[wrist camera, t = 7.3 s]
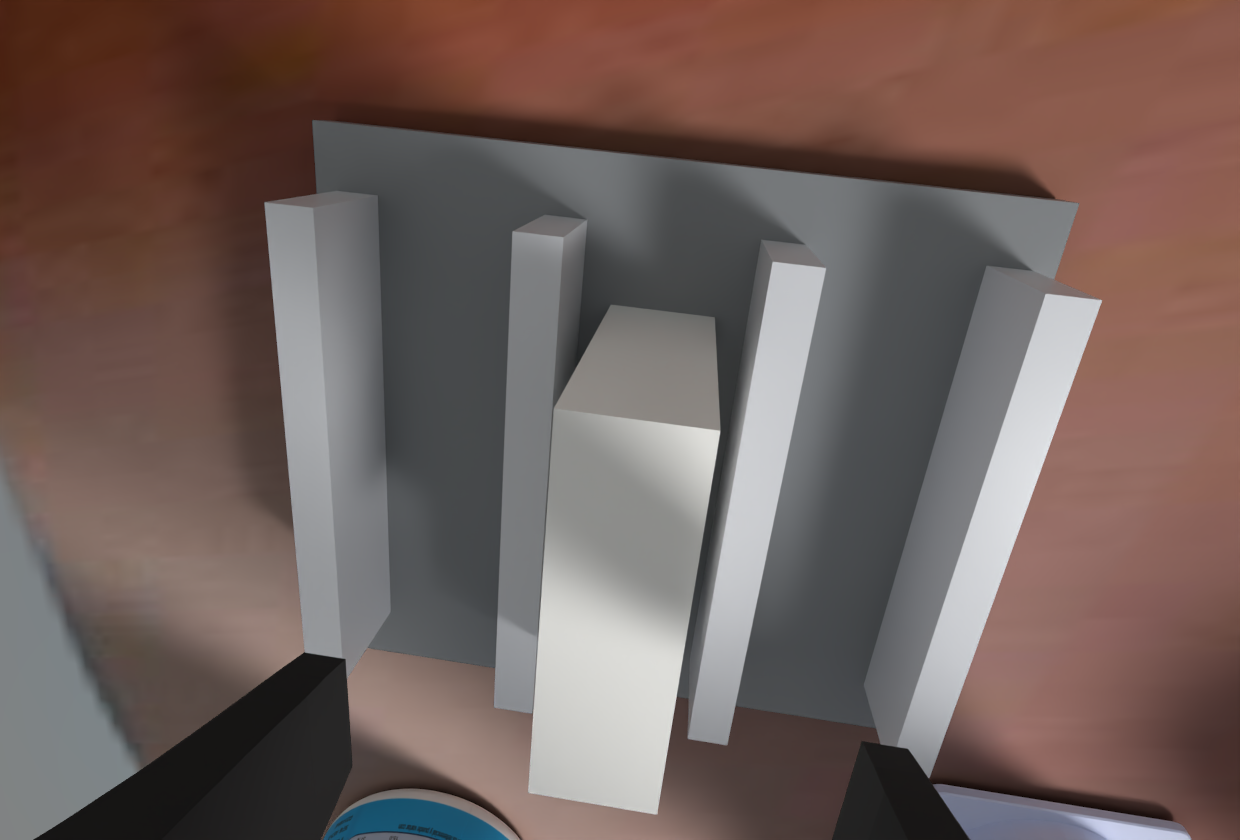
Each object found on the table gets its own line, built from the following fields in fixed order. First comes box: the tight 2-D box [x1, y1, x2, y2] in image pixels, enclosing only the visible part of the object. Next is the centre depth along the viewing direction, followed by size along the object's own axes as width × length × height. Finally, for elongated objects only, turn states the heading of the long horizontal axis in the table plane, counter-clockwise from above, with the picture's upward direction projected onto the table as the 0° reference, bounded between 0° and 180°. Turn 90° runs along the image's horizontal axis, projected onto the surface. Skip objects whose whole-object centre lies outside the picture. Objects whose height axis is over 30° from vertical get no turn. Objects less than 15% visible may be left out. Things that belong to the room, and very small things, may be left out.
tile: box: [528, 305, 720, 815], centre depth 15 cm, size 8×2×7 cm, turn 175°
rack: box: [264, 120, 1102, 778], centre depth 18 cm, size 15×17×4 cm
